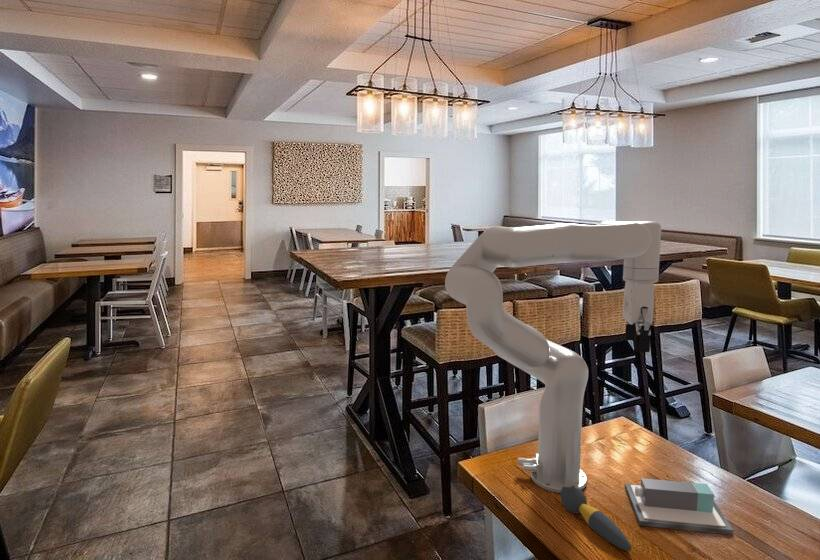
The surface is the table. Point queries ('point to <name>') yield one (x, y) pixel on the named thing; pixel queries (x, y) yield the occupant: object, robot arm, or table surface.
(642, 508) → the drawing board
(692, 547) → the table surface
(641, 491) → the teal-tipped grey bar
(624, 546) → the paintbrush
